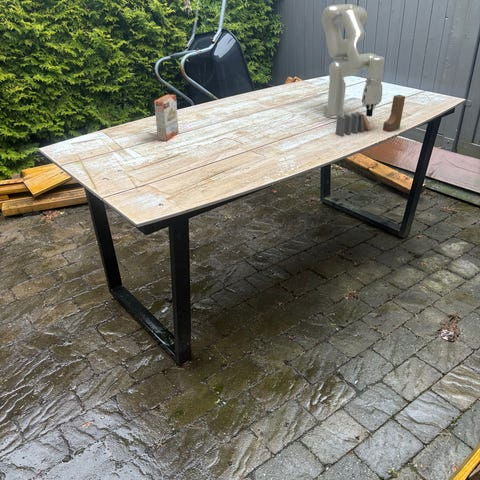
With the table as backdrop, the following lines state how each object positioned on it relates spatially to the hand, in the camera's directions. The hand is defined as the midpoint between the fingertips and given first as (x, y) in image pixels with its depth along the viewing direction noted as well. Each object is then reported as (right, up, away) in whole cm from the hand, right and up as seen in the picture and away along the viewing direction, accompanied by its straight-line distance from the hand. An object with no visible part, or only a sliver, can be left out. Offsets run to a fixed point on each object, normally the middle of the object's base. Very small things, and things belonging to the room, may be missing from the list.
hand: (368, 115), depth 248 cm
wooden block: (+13, -7, +4) cm, 15 cm away
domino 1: (-17, -11, -3) cm, 20 cm away
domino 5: (0, -6, +4) cm, 7 cm away
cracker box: (-109, -12, -2) cm, 110 cm away
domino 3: (-9, -9, +1) cm, 12 cm away
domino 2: (-13, -10, -1) cm, 16 cm away
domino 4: (-5, -8, +2) cm, 9 cm away
